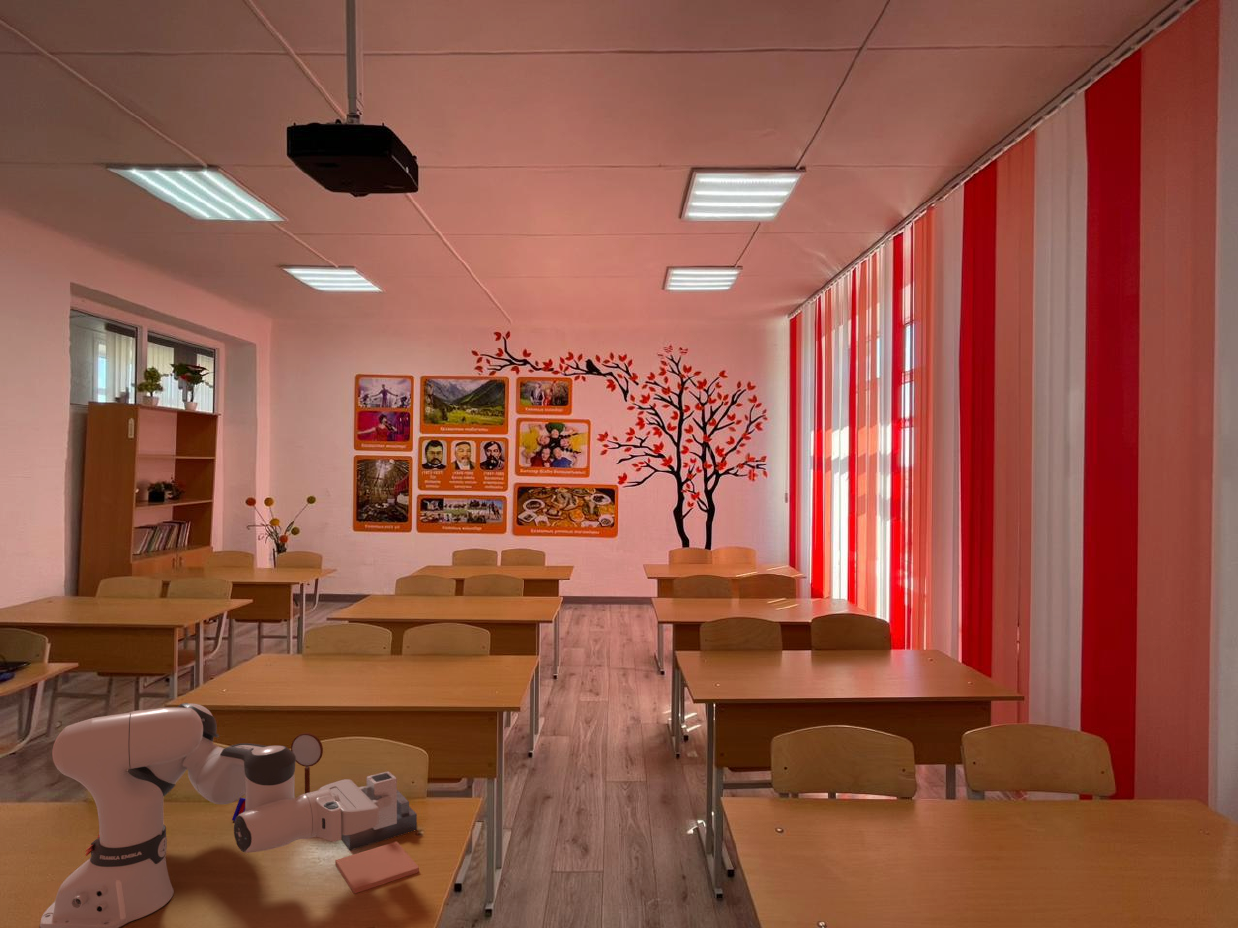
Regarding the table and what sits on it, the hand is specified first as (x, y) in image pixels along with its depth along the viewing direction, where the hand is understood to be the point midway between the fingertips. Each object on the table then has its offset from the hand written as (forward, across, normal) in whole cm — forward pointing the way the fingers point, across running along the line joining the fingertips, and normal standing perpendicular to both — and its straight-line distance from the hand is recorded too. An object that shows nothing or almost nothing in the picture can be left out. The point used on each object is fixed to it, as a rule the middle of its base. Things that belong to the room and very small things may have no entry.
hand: (385, 794), depth 170 cm
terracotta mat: (-2, 0, -16) cm, 16 cm away
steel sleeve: (-1, 0, -6) cm, 6 cm away
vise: (+4, -16, -16) cm, 23 cm away
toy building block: (-20, -44, -16) cm, 50 cm away
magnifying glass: (-6, -38, -16) cm, 42 cm away
